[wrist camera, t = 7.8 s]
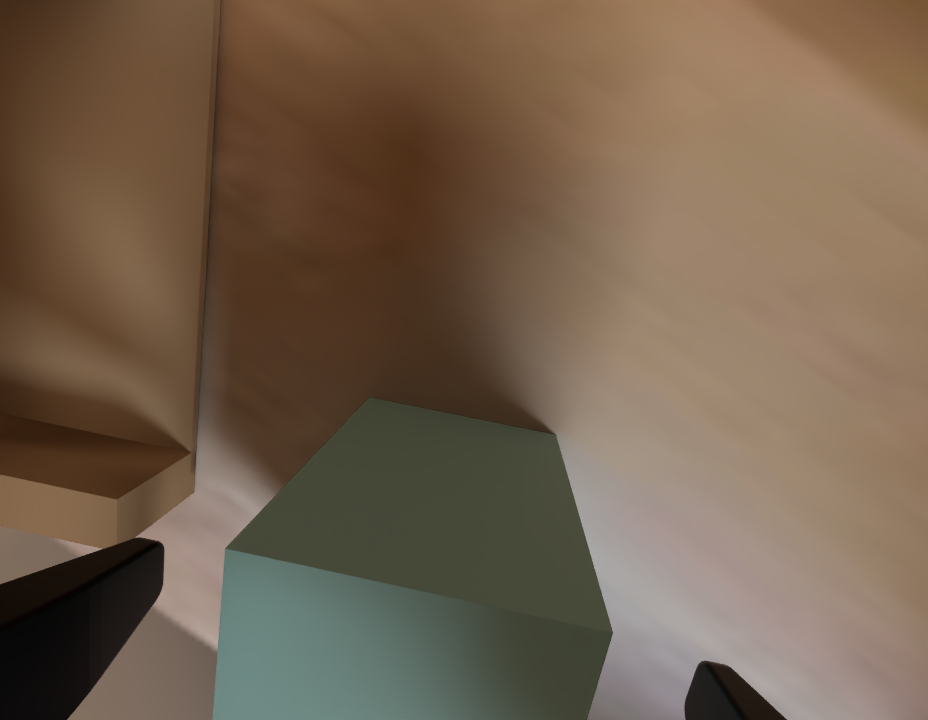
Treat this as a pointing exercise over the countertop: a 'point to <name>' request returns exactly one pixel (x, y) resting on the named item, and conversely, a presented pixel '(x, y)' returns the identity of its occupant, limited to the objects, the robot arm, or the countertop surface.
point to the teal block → (414, 581)
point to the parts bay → (102, 259)
